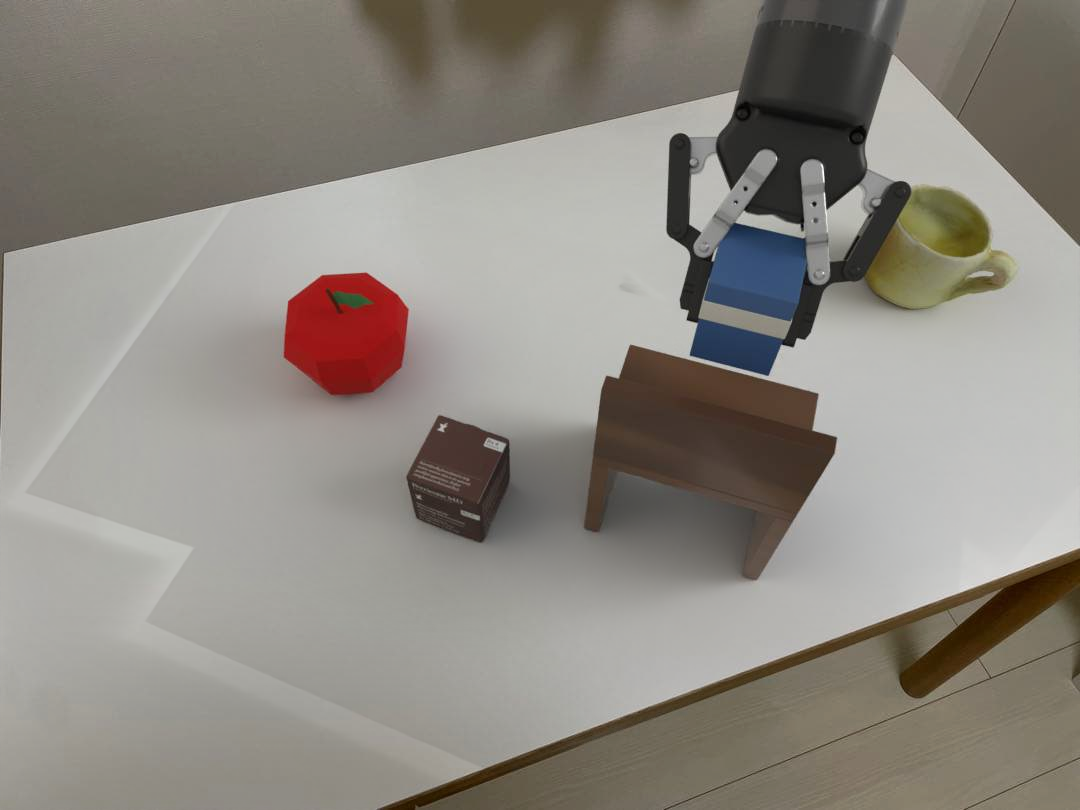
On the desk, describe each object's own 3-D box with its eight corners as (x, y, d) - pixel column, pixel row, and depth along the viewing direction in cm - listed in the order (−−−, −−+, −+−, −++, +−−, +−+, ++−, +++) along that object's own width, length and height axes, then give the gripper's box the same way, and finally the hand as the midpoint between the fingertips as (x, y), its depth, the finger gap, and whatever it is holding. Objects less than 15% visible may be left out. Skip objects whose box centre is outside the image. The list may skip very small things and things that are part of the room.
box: (414, 519, 68) (402, 476, 62) (445, 458, 71) (437, 412, 65) (483, 545, 67) (478, 504, 61) (512, 482, 70) (510, 437, 64)
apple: (275, 394, 74) (243, 323, 66) (328, 305, 80) (304, 229, 71) (387, 426, 73) (368, 357, 64) (432, 332, 78) (420, 258, 70)
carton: (704, 296, 56) (725, 219, 50) (782, 315, 55) (812, 239, 49) (688, 356, 53) (707, 282, 47) (769, 377, 52) (799, 304, 46)
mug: (825, 262, 81) (897, 185, 73) (874, 236, 87) (946, 163, 79) (916, 357, 78) (1001, 287, 70) (961, 324, 84) (1043, 256, 76)
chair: (616, 427, 73) (641, 271, 56) (778, 472, 71) (855, 323, 54) (583, 528, 68) (600, 390, 51) (757, 581, 65) (835, 453, 49)
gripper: (694, -8, 44) (615, 308, 48) (977, 45, 42) (871, 373, 46) (699, 28, 51) (630, 300, 55) (941, 74, 49) (851, 355, 53)
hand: (739, 331), depth 51 cm, fingers closed on carton, 5 cm apart
